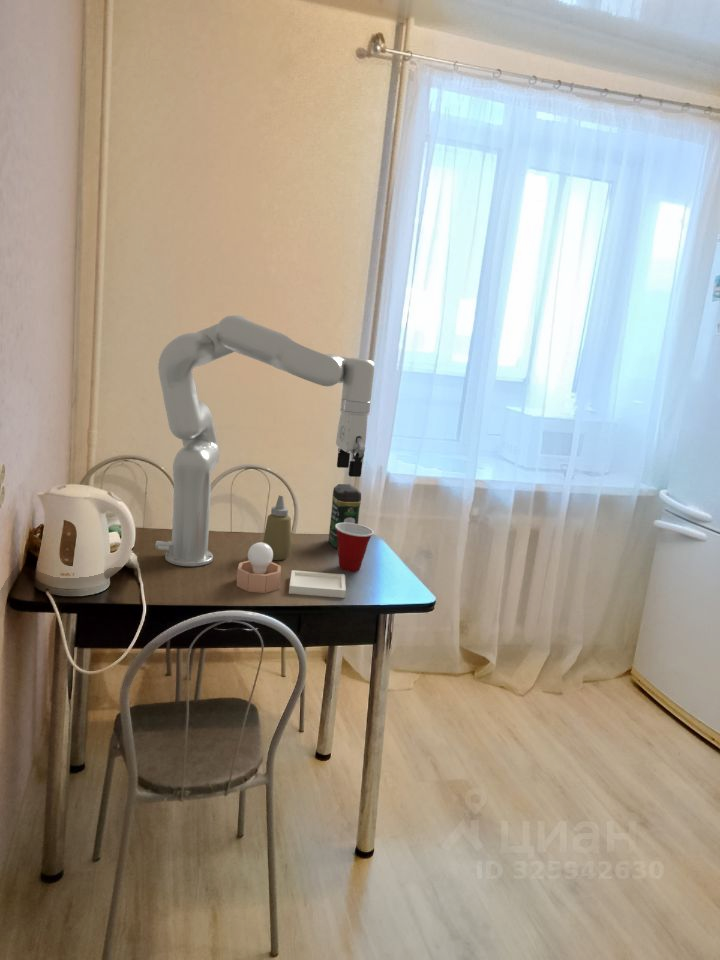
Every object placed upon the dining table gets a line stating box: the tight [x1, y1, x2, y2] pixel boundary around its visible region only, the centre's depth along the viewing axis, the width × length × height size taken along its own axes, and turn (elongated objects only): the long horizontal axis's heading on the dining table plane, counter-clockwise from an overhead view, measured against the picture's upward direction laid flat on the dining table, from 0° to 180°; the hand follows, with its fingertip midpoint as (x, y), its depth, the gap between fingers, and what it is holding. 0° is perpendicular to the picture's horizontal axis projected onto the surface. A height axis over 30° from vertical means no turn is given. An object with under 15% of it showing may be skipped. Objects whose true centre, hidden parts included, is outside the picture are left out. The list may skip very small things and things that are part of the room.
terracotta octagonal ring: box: [236, 560, 282, 594], centre depth 183 cm, size 11×11×4 cm
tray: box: [288, 569, 347, 599], centre depth 185 cm, size 14×11×2 cm
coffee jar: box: [328, 483, 362, 549], centre depth 219 cm, size 10×8×19 cm
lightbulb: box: [247, 541, 273, 574], centre depth 182 cm, size 6×6×11 cm
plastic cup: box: [335, 522, 375, 573], centre depth 200 cm, size 11×11×12 cm
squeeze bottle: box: [262, 494, 292, 561], centre depth 202 cm, size 8×8×18 cm
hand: (348, 471), depth 190 cm, fingers open, 9 cm apart
